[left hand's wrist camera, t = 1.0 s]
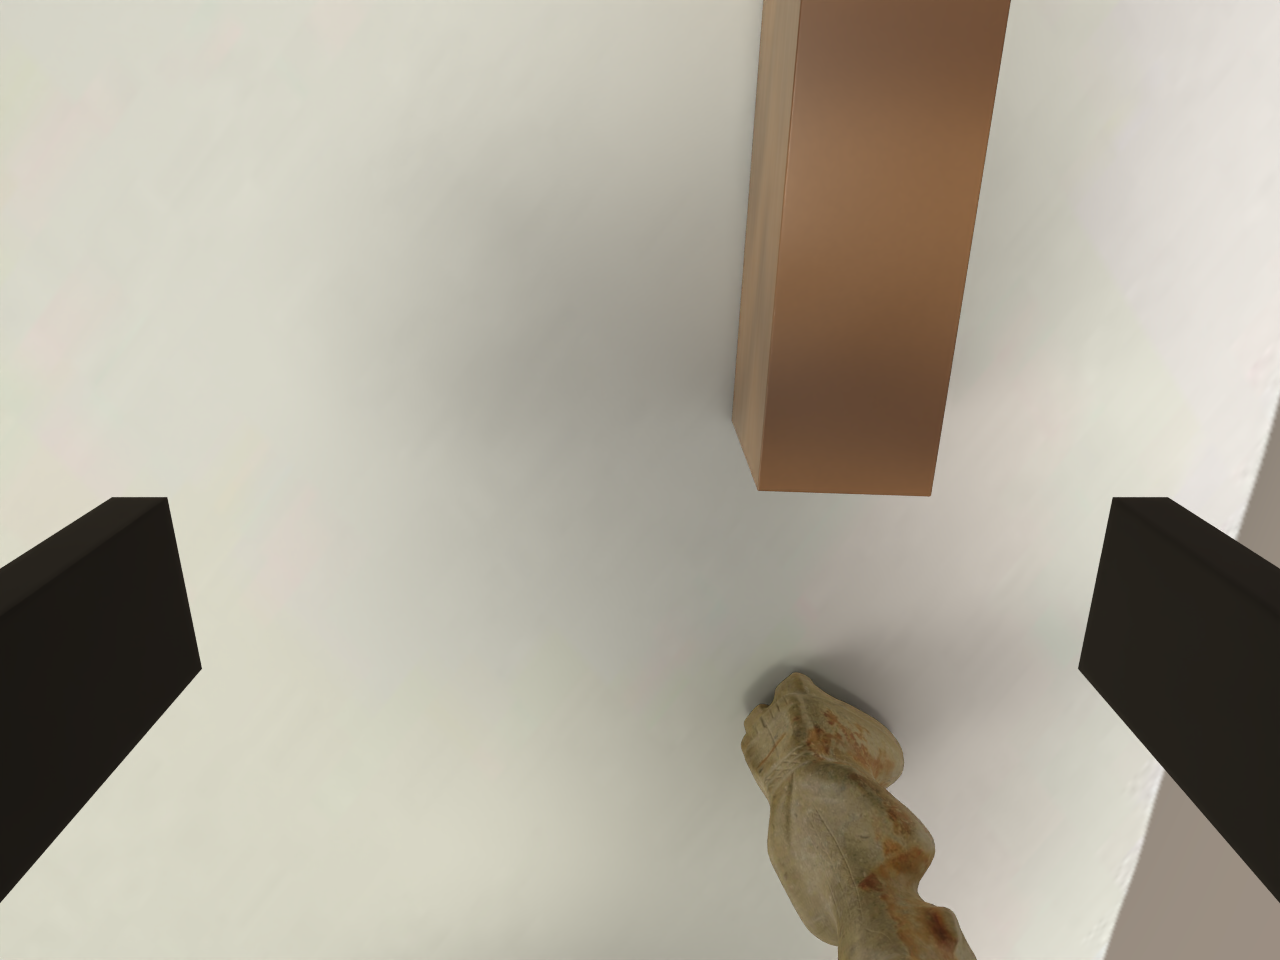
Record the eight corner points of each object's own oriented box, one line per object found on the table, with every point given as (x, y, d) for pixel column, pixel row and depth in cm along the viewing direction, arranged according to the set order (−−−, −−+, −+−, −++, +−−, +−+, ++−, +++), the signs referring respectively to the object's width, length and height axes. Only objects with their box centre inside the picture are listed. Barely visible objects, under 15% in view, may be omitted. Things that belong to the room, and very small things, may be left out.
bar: (868, 426, 35) (931, 497, 27) (731, 421, 35) (757, 491, 27) (977, -408, 26) (1114, -638, 19) (794, -416, 26) (858, -652, 18)
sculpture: (821, 804, 41) (917, 1140, 27) (711, 717, 39) (752, 1026, 25) (914, 727, 39) (1068, 1039, 25) (804, 633, 38) (903, 911, 24)
